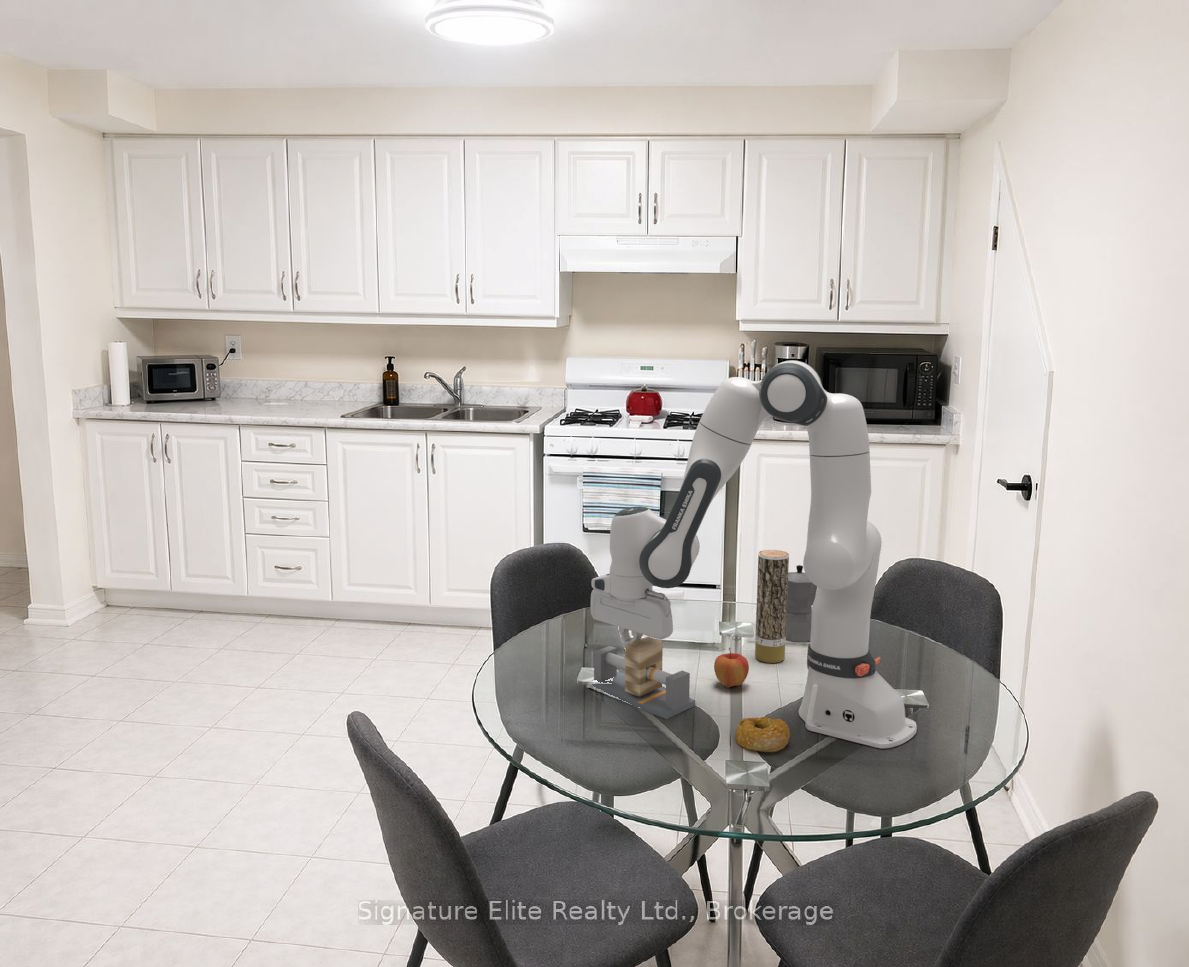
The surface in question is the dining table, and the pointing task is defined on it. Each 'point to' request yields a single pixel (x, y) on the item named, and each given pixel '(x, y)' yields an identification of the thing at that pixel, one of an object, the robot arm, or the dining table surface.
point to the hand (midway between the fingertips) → (630, 648)
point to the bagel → (762, 734)
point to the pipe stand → (659, 699)
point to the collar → (642, 665)
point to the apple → (731, 669)
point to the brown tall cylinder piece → (771, 605)
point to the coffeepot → (799, 606)
